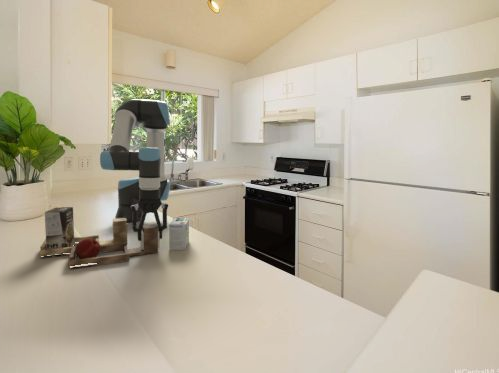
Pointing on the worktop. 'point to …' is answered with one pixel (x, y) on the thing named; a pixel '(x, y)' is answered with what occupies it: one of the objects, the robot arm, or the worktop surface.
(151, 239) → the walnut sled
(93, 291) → the worktop surface
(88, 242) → the apple
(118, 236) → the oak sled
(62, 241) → the coffee box
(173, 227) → the light bulb box
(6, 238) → the worktop surface
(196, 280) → the worktop surface
